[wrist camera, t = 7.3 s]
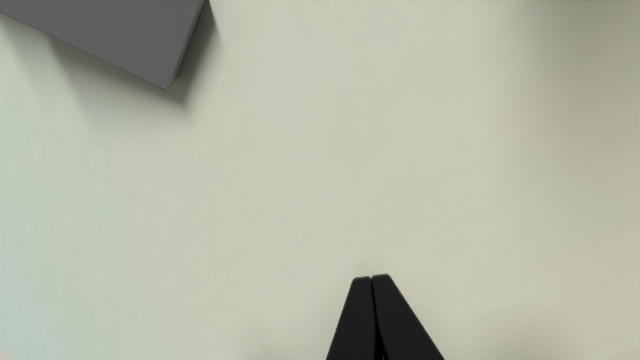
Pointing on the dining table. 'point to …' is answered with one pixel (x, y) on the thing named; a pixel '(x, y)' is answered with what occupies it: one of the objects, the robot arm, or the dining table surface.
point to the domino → (118, 30)
